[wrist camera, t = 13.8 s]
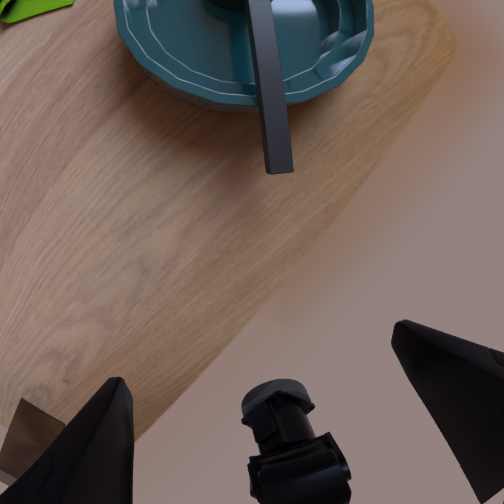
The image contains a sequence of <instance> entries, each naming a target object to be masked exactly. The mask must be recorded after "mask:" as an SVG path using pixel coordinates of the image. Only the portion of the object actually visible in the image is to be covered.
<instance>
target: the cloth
mask: <svg viewBox="0 0 504 504" xmlns="http://www.w3.org/2000/svg"><path fill="white" fill-rule="evenodd" d="M73 3H74V0H0V20H1V21H2V22H4V23H6V24H10V23H14V22H18V21H20V20H23V19H26V18H29V17H32V16H35V15H38V14H41V13H44V12H47V11H51V10H54V9H57V8H60V7H63V6H67V5H72V4H73Z"/></svg>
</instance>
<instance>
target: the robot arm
mask: <svg viewBox="0 0 504 504" xmlns="http://www.w3.org/2000/svg"><path fill="white" fill-rule="evenodd" d="M391 344H392V348H393V350H394V352H395V354H396V355H397V357H398V359H399V361H400V363H401V365H402V367H403V369H404V371H405V373H406V375H407V377H408V379H409V381H410V382H411V384H412V386H413V387H414V389H415V390H416V392H417V393H418V395H419V397H420V398H421V400H422V402H423V403H424V404H425V406H426V408H427V409H428V411H429V413H430V414H431V416H432V418H433V419H434V421H435V423H436V424H437V426H438V428H439V429H440V431H441V433H442V434H443V436H444V438H445V440H446V441H447V443H448V445H449V446H450V448H451V450H452V452H453V453H454V455H455V457H456V459H457V461H458V462H459V464H460V466H461V468H462V470H463V472H464V474H465V475H466V477H467V479H468V481H469V483H470V485H471V487H472V488H473V491H474V493H475V495H476V496H477V499H478V500H479V502H480V504H483V503H485V502H486V501H487V500H489V499H490V498H491V497H493V496H494V495H495V494H497V493H498V492H499V491H500V490H502V489H503V488H504V353H503V352H500V351H497V350H494V349H491V348H488V347H485V346H482V345H479V344H476V343H473V342H470V341H467V340H464V339H461V338H459V337H456V336H453V335H450V334H447V333H444V332H441V331H438V330H435V329H432V328H429V327H427V326H424V325H421V324H418V323H415V322H412V321H409V320H402V321H399V322H397V323H396V324H395V325H394V330H393V335H392V340H391ZM314 408H315V405H314V404H313V403H311V402H309V401H306V400H303V399H301V398H298V397H296V396H294V395H291V394H289V393H286V392H284V391H281V390H277V391H275V392H274V393H273V394H272V395H270V396H269V397H268V398H267V399H266V400H264V401H263V402H262V403H261V404H260V405H258V406H257V407H256V408H255V409H253V410H252V411H251V412H250V413H248V414H247V415H246V416H245V417H243V418H242V419H241V422H242V424H244V425H247V426H250V427H252V430H253V434H254V438H255V442H256V443H258V447H259V451H260V455H258V456H251V457H249V459H250V463H249V464H248V465H247V466H248V471H249V476H250V494H251V496H252V497H253V498H255V499H257V500H258V502H259V503H260V504H349V502H350V498H351V489H350V487H349V484H348V482H347V481H349V480H351V473H350V470H349V467H348V464H347V462H346V459H345V457H344V456H343V454H342V452H341V450H340V449H339V447H338V445H337V444H336V442H335V440H334V439H333V437H332V435H331V434H330V432H327V433H325V434H324V435H321V436H319V437H315V434H314V432H313V429H312V427H311V425H310V423H309V420H308V418H307V414H308V413H309V412H311V411H312V410H313V409H314ZM133 459H134V424H133V399H132V395H131V393H130V391H129V389H128V387H127V385H126V383H125V381H124V379H123V378H122V377H111V378H109V379H108V380H107V381H106V382H105V383H104V384H103V385H102V386H101V387H100V389H99V390H98V391H97V392H96V393H95V394H94V395H93V396H92V397H91V399H90V400H89V401H88V402H87V403H86V404H85V405H84V406H83V408H82V409H81V410H80V411H79V412H78V413H77V414H76V415H75V417H74V418H73V419H72V420H71V421H70V422H69V423H68V425H67V426H66V427H65V428H64V429H63V430H62V431H61V433H60V434H59V435H58V436H57V437H56V438H55V439H54V441H53V442H52V443H51V444H50V445H49V448H47V449H46V450H45V451H44V452H43V453H42V454H41V456H40V457H39V458H38V459H37V460H36V461H35V462H34V463H33V464H32V465H31V466H30V467H29V468H28V469H27V470H26V471H25V472H24V473H23V474H22V475H21V476H20V477H19V478H18V479H17V480H16V481H15V482H14V483H13V484H12V485H11V486H9V487H8V488H7V489H6V490H5V491H4V492H3V493H2V494H1V495H0V504H133V493H132V492H133ZM503 504H504V503H503Z"/></svg>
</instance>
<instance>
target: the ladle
mask: <svg viewBox="0 0 504 504" xmlns="http://www.w3.org/2000/svg"><path fill="white" fill-rule="evenodd" d="M212 1H213V2H214V3H216V4H217V5H219V6H222V7H224V8H227V9H231V10H238V11H245V12H246V19H247V25H248V32H249V40H250V47H251V54H252V61H253V69H254V76H255V84H256V92H257V100H258V108H259V116H260V124H261V133H262V141H263V150H264V159H265V168H266V173H267V174H271V175H272V174H281V173H290V172H294V169H293V159H292V150H291V140H290V131H289V122H288V114H287V106H286V98H285V90H284V83H283V76H282V69H281V62H280V55H279V49H278V42H277V36H276V30H275V24H274V18H273V12H272V7H271V1H272V0H212Z"/></svg>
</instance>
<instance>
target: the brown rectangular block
mask: <svg viewBox="0 0 504 504" xmlns="http://www.w3.org/2000/svg"><path fill="white" fill-rule="evenodd" d="M63 427H64V423H62V422H61V421H59V420H57V419H55V418H53V417H52V416H50V415H48V414H47V413H45V412H43V411H41V410H40V409H38V408H37V407H35V406H33V405H32V404H30V403H29V402H27V401H26V400H24V399H23V398H21V400H20V402H19V405H18V407H17V409H16V412H15V414H14V417H13V419H12V422H11V424H10V427H9V429H8V432H7V434H6V437H5V440H4V443H3V446H2V448H1V451H0V481H1V482H3V483H4V484H6V485H8V486H11V485H12V484H13V483H14V482H15V481H16V480H17V479H18V478H19V477H20V476H21V475H22V474H23V473H24V472H25V471H26V470H27V469H28V468H29V467H30V466H31V465H32V464H33V463H34V462H35V461H36V460H37V459H38V458H39V457H40V456H41V454H42V453H43V452H44V451H45V450H46V449H47V448H49V445H50V444H51V443H52V442H53V441H54V439H55V438H56V437H57V436H58V435H59V434H60V433H61V431H62V430H63Z"/></svg>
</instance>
